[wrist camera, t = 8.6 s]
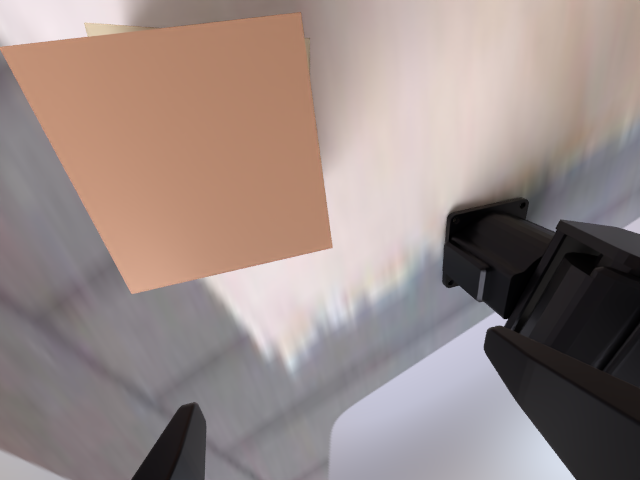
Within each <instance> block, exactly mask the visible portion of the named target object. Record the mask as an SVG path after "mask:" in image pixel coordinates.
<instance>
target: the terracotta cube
mask: <svg viewBox="0 0 640 480" xmlns="http://www.w3.org/2000/svg"><path fill="white" fill-rule="evenodd" d="M0 50H1V52H2V53H3V55H4V57H5V59H6V61H7V63H8V65H9V66H10V68H11V70H12V72H13V74H14V76H15V78H16V80H17V81H18V83H19V85H20V87H21V89H22V91H23V93H24V94H25V96H26V98H27V100H28V102H29V104H30V106H31V107H32V109H33V111H34V113H35V115H36V117H37V119H38V120H39V122H40V124H41V126H42V128H43V130H44V132H45V133H46V135H47V137H48V139H49V141H50V143H51V145H52V146H53V148H54V150H55V152H56V154H57V156H58V158H59V160H60V161H61V163H62V165H63V167H64V169H65V171H66V173H67V174H68V176H69V178H70V180H71V182H72V184H73V186H74V187H75V189H76V191H77V193H78V195H79V197H80V199H81V200H82V202H83V204H84V206H85V208H86V210H87V212H88V213H89V215H90V217H91V219H92V221H93V223H94V225H95V227H96V228H97V230H98V232H99V234H100V236H101V238H102V240H103V241H104V243H105V245H106V247H107V249H108V251H109V253H110V254H111V256H112V258H113V260H114V262H115V264H116V266H117V267H118V269H119V271H120V273H121V275H122V277H123V279H124V280H125V282H126V284H127V286H128V288H129V290H130V292H131V294H134V293H139V292H143V291H147V290H152V289H156V288H160V287H165V286H169V285H173V284H178V283H182V282H186V281H191V280H195V279H199V278H204V277H208V276H212V275H217V274H221V273H225V272H230V271H234V270H238V269H243V268H247V267H251V266H256V265H260V264H264V263H269V262H273V261H277V260H282V259H286V258H290V257H295V256H299V255H303V254H308V253H312V252H316V251H321V250H325V249H329V248H333V247H332V240H331V232H330V225H329V217H328V210H327V202H326V195H325V188H324V180H323V173H322V165H321V158H320V150H319V143H318V136H317V128H316V121H315V113H314V106H313V98H312V91H311V84H310V76H309V69H308V61H307V54H306V46H305V39H304V32H303V24H302V17H301V12H297V13H289V14H280V15H272V16H263V17H254V18H246V19H237V20H228V21H220V22H211V23H203V24H194V25H185V26H177V27H168V28H160V29H151V30H142V31H134V32H125V33H117V34H108V35H99V36H91V37H82V38H73V39H65V40H56V41H48V42H39V43H30V44H22V45H13V46H5V47H0Z"/></svg>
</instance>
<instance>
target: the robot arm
mask: <svg viewBox="0 0 640 480" xmlns="http://www.w3.org/2000/svg"><path fill="white" fill-rule="evenodd" d="M520 204H521V205H520ZM528 204H529V202H528V200H527V199H524V198H516V199H511V200H507V201H503V202H498V203H494V204H489V205H485V206H480V207H476V208H472V209H467V210H463V211H458V212H454V213H451V214H450V215H449V216H448V218H447V224H446V238H445V245H444V258H443V280H442V282H443V284H444V285H445V286H446V287H447V288H451V287H455V286H460V287H462V288H463V289H464V290H465V291H466V292H467V293H468V294H470V295H471V296H472V297H473V298H474V299H475V300H477V301H478V302H483V301H484V302H485V303H486V304H487V305H488V306H489V307H491V308H492V309H493V310H494V311H495V312H496V313H498V314H499V315H500V316H501V317H502V318H504V319H508V321H507V322H506V324H505V326H504V327H503V326H495V327H491V328H489V329H488V330H487V332H486V337H485V343H484V351H485V353H486V355H487V357H488V358H489V360H490V361H491V363H492V365H493V366H494V368H495V369H496V371H497V372H498V374H499V376H500V377H501V379H502V380H503V382H504V383H505V385H506V387H507V388H508V390H509V391H510V393H511V394H512V396H513V397H514V399H515V400H516V401H517V403H518V404H519V406H520V407H521V408H522V410H523V411H524V412H525V414H526V415H527V416H528V417H529V419H530V420H531V421H532V423H533V424H534V425H535V427H536V428H537V429H538V431H539V432H540V433H541V434H542V436H543V437H544V438H545V440H546V441H547V442H548V444H549V445H550V446H551V447H552V449H553V450H554V451H555V453H556V454H557V455H558V456H559V458H560V459H561V461H562V462H563V463H564V464H565V466H566V467H567V468H568V470H569V471H570V472H571V473H572V475H573V476H574V477H575V479H576V480H640V234H637V233H634V232H631V231H627V230H625V229H621V228H618V227H612V226H605V225H597V224H590V223H583V222H575V221H568V220H560V221H559V223H558V225H557V227H556V229H557V231H556V232H554V231H551V230H549V229H547V228H544V227H542V226H540V225H537V224H535V223H533V222H530V221H528V220H526V214H527V209H528ZM455 218H456V220H455V221H454V222H453V220H454V219H455ZM449 281H450V282H449ZM205 451H206V421H205V418H204V416H203V414H202V411H201V409H200V407H199V405H198V403H196V402H193V403H189V404H185V405H182V406H181V407H180V408H179V409H178V410H177V412H176V413H175V415H174V416H173V418H172V419H171V421H170V422H169V424H168V425H167V427H166V428H165V430H164V431H163V433H162V434H161V436H160V437H159V439H158V440H157V442H156V443H155V445H154V446H153V448H152V449H151V451H150V452H149V454H148V455H147V457H146V458H145V460H144V461H143V463H142V464H141V466H140V467H139V469H138V470H137V472H136V473H135V475H134V476H133V478H132V479H131V480H204V479H205Z"/></svg>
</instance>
